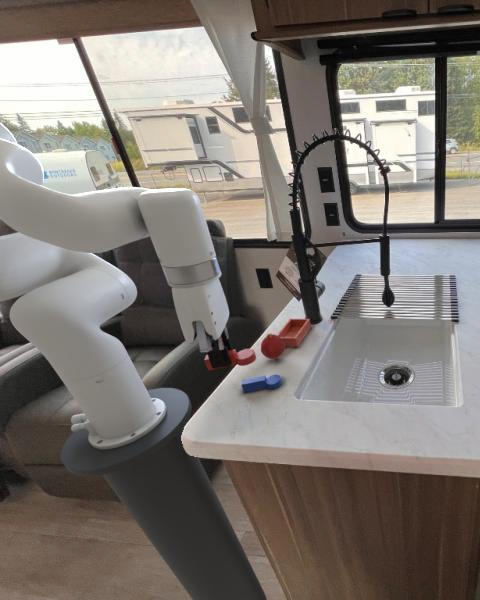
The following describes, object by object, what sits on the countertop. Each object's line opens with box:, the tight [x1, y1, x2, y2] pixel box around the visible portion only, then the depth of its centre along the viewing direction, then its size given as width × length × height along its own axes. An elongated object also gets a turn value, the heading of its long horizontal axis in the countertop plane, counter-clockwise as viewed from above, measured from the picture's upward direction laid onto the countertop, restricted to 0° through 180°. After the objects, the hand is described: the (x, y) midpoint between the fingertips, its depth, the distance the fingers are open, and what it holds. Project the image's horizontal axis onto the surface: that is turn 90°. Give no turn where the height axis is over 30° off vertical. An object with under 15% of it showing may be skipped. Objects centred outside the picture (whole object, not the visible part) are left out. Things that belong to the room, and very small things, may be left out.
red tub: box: [276, 318, 312, 348], centre depth 90 cm, size 11×6×3 cm, turn 175°
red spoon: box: [203, 348, 257, 371], centre depth 58 cm, size 8×3×2 cm, turn 106°
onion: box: [260, 332, 286, 360], centre depth 80 cm, size 6×6×8 cm
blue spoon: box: [241, 374, 283, 394], centre depth 72 cm, size 8×3×2 cm, turn 106°
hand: (223, 361), depth 58 cm, fingers closed on red spoon, 1 cm apart
